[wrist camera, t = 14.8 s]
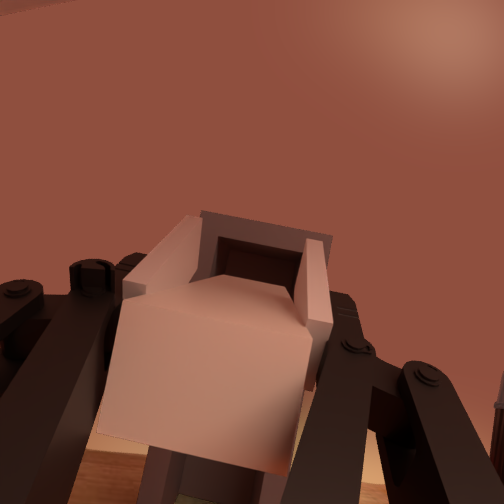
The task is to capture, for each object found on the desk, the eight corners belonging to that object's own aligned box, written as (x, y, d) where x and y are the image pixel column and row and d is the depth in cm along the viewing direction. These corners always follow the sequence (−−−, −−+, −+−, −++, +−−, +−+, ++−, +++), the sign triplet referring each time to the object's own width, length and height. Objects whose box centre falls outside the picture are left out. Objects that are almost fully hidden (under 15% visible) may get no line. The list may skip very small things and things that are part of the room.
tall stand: (266, 506, 40) (314, 250, 43) (266, 597, 28) (332, 235, 31) (164, 481, 41) (218, 231, 44) (123, 560, 29) (201, 210, 32)
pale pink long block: (276, 330, 28) (284, 286, 28) (286, 477, 9) (313, 339, 9) (214, 317, 28) (223, 274, 28) (96, 432, 9) (123, 299, 9)
